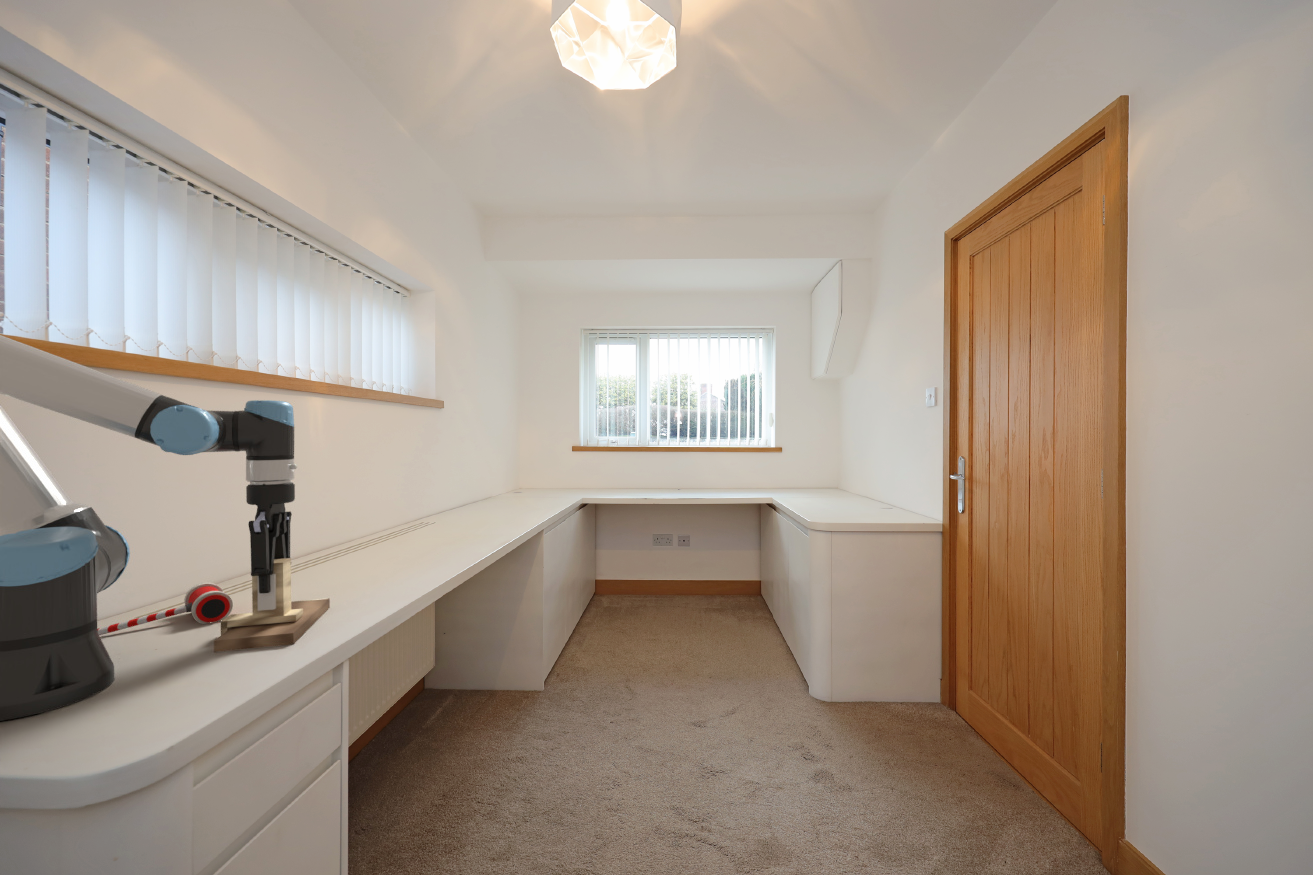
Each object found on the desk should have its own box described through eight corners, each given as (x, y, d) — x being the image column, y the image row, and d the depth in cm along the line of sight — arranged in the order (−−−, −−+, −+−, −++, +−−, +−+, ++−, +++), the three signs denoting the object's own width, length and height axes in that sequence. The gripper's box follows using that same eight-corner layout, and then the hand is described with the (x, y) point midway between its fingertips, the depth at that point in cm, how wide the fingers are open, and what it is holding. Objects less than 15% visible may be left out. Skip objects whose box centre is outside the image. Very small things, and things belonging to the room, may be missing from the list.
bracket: (220, 638, 100) (219, 566, 100) (231, 630, 104) (230, 561, 104) (296, 631, 104) (295, 561, 104) (303, 624, 107) (302, 557, 107)
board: (214, 652, 95) (213, 639, 95) (265, 612, 116) (265, 603, 116) (293, 644, 98) (293, 632, 98) (329, 607, 119) (329, 597, 119)
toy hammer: (70, 653, 96) (70, 617, 96) (70, 637, 104) (69, 603, 104) (233, 620, 113) (233, 589, 113) (222, 608, 121) (221, 579, 121)
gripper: (275, 485, 97) (276, 617, 97) (308, 478, 113) (310, 591, 114) (225, 486, 95) (227, 622, 95) (266, 479, 111) (268, 594, 112)
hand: (272, 605), depth 104 cm, fingers closed on bracket, 4 cm apart
